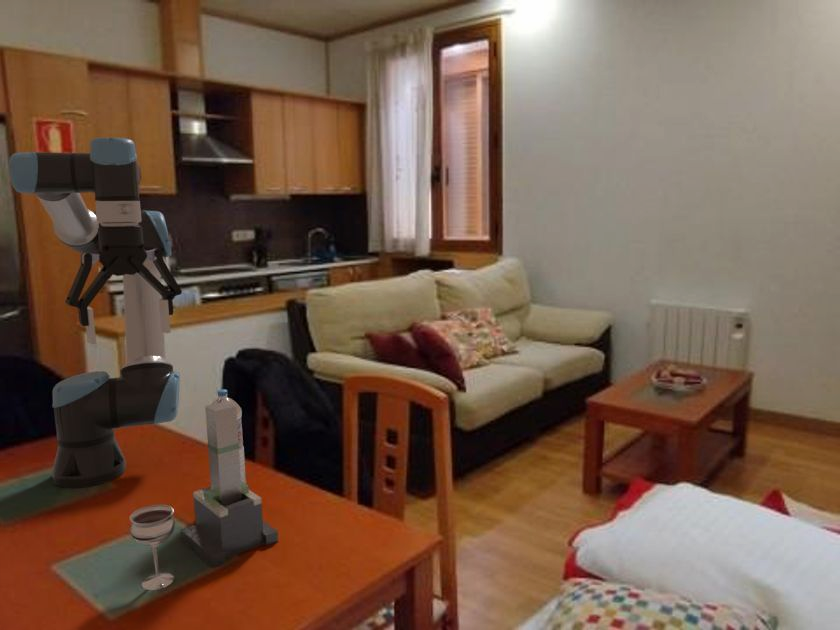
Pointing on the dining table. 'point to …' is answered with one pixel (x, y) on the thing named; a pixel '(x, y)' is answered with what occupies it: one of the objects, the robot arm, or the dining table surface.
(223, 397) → the water bottle
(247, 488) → the column
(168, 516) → the wineglass
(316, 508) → the dining table surface
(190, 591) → the dining table surface
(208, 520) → the sleeve
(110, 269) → the robot arm
